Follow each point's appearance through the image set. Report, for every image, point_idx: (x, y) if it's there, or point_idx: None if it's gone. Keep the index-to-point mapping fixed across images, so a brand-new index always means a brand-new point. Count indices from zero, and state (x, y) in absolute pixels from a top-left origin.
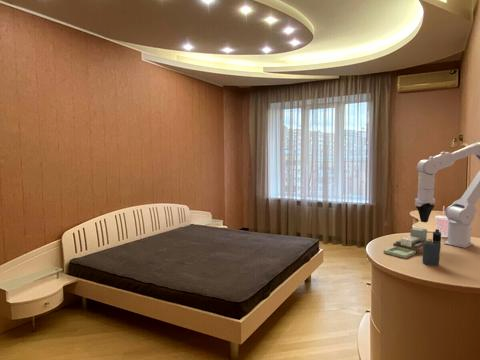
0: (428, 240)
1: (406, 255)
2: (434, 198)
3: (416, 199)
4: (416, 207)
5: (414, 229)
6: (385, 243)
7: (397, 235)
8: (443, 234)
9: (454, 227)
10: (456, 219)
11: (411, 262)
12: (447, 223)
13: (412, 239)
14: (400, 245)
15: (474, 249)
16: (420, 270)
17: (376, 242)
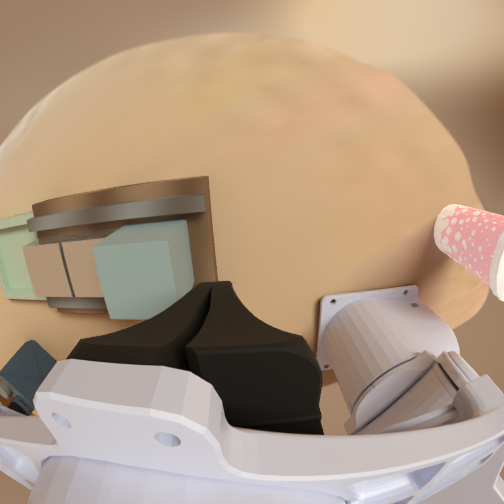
0: (1, 392)
1: (10, 297)
2: (482, 464)
3: (59, 435)
4: (93, 338)
5: (101, 270)
6: (77, 127)
7: (295, 59)
8: (443, 247)
9: (348, 391)
10: (363, 432)
11: (9, 317)
12: (483, 281)
13: (51, 289)
14: (39, 237)
15: (326, 384)
16: (2, 349)
17: (63, 97)
